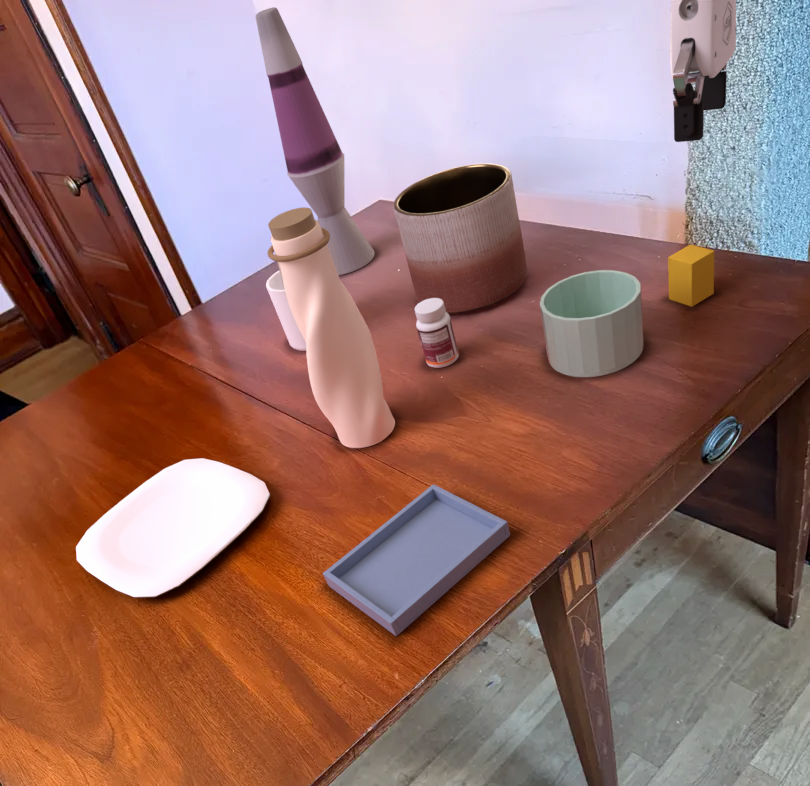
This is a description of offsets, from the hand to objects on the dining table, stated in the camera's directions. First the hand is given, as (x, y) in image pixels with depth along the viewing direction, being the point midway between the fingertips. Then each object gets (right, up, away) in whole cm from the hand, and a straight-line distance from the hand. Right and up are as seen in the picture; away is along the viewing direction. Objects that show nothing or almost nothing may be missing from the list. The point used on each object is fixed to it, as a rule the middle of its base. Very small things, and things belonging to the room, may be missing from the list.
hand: (700, 124), depth 91 cm
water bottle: (-41, -36, +7) cm, 55 cm away
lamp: (-47, +1, +48) cm, 67 cm away
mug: (-49, -17, +31) cm, 61 cm away
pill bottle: (-31, -25, +14) cm, 42 cm away
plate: (-64, -50, +2) cm, 81 cm away
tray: (-35, -53, -13) cm, 65 cm away
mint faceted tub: (-11, -26, +6) cm, 29 cm away
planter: (-25, -11, +27) cm, 39 cm away
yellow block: (+2, -18, +9) cm, 20 cm away
